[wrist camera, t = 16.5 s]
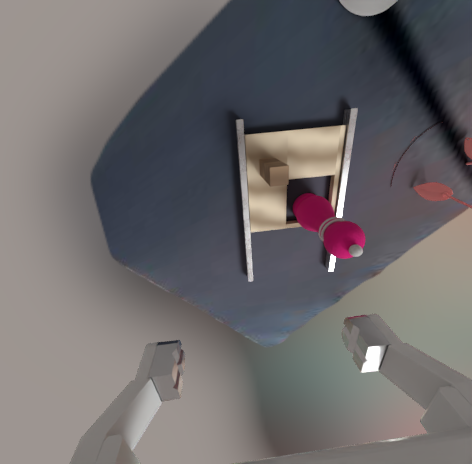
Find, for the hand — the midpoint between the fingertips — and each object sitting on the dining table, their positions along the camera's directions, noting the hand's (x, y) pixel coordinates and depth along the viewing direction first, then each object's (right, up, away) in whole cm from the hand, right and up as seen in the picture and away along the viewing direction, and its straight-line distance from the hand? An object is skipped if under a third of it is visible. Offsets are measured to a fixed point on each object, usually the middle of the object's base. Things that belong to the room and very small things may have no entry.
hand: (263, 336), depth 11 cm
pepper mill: (+14, +11, +38) cm, 42 cm away
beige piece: (+10, +16, +35) cm, 39 cm away
